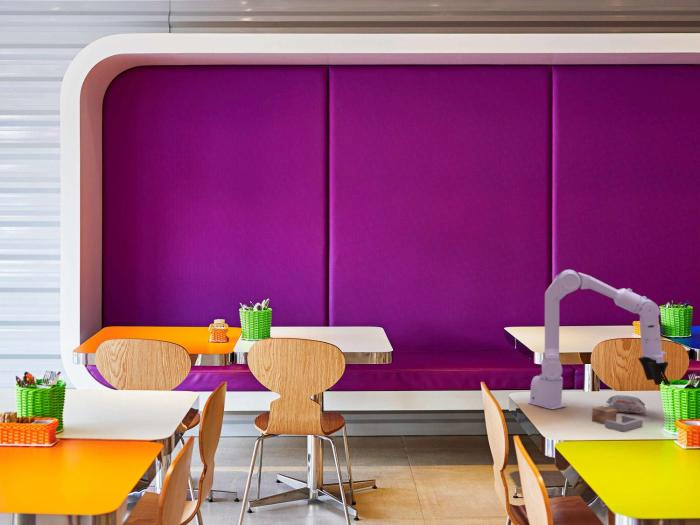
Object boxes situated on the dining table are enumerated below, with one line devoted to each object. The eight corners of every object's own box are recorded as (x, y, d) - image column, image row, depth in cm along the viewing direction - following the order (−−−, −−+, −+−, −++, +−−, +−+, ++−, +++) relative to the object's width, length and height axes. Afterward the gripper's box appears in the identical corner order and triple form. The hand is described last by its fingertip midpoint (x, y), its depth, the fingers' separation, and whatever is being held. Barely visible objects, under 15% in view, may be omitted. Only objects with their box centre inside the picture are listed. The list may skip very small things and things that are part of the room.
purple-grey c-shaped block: (604, 426, 223) (605, 420, 223) (623, 421, 230) (624, 415, 230) (623, 431, 218) (623, 425, 218) (642, 426, 225) (642, 419, 225)
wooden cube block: (591, 421, 229) (592, 408, 229) (601, 418, 233) (601, 405, 232) (606, 425, 225) (607, 411, 225) (616, 422, 229) (616, 409, 228)
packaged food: (645, 417, 236) (646, 401, 236) (605, 413, 240) (606, 397, 240) (644, 411, 244) (645, 396, 244) (605, 406, 248) (606, 391, 248)
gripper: (672, 340, 230) (676, 385, 230) (655, 334, 244) (659, 376, 245) (648, 343, 230) (652, 387, 231) (633, 336, 245) (637, 378, 245)
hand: (654, 382), depth 238 cm, fingers open, 7 cm apart
